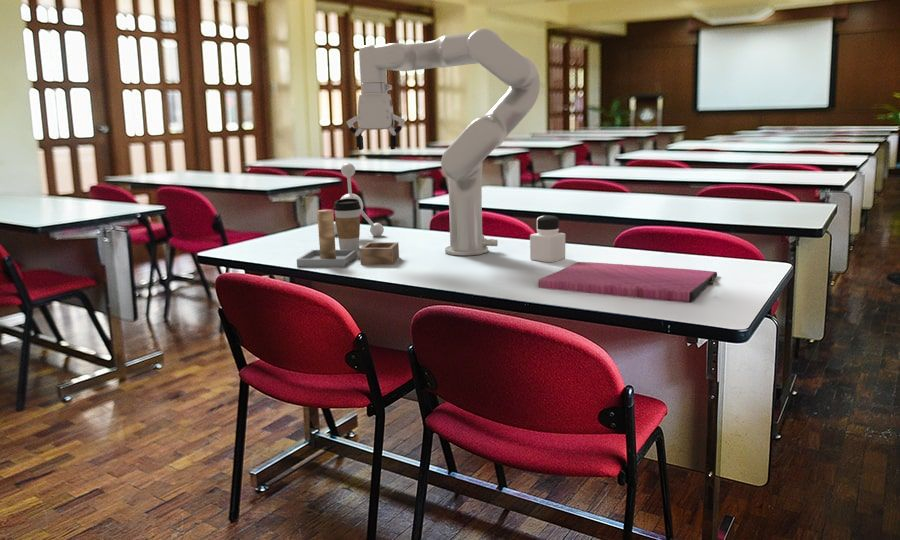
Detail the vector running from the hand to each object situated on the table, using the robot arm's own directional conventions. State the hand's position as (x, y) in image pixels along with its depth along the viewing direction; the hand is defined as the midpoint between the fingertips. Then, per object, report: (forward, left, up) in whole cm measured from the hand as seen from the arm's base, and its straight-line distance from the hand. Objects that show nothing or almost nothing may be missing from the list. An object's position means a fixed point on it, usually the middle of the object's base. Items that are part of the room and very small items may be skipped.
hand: (377, 149), depth 227 cm
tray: (+12, +16, -30) cm, 36 cm away
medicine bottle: (-50, +12, -31) cm, 60 cm away
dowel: (+12, +16, -30) cm, 36 cm away
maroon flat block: (-72, +39, -31) cm, 87 cm away
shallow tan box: (-3, +15, -30) cm, 34 cm away
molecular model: (+15, -20, -31) cm, 40 cm away
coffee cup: (+11, -3, -31) cm, 33 cm away
